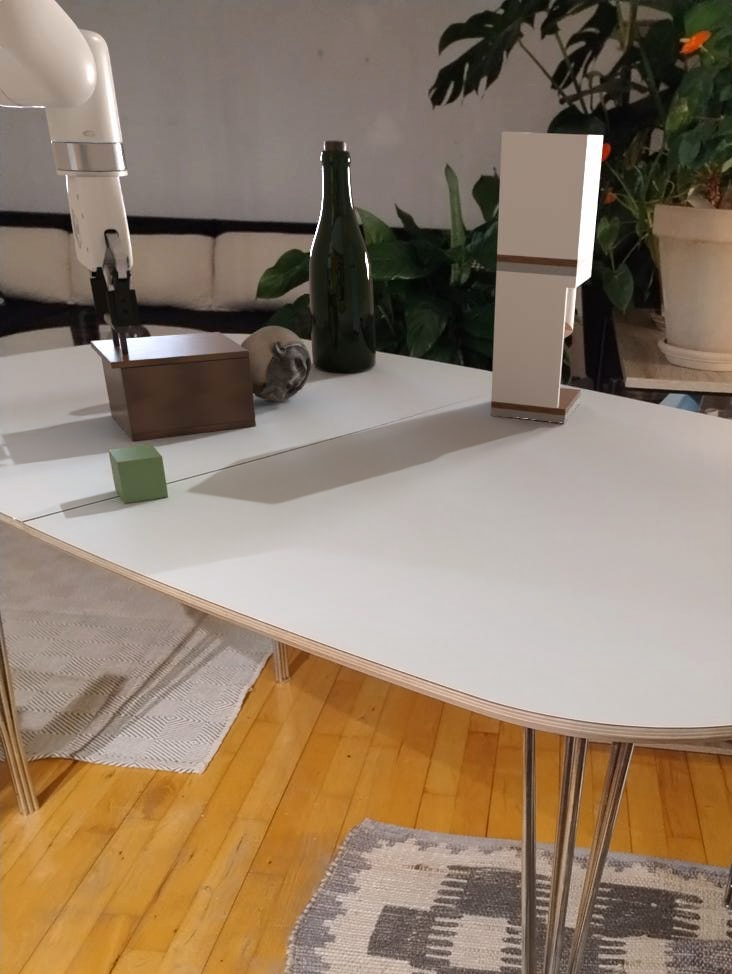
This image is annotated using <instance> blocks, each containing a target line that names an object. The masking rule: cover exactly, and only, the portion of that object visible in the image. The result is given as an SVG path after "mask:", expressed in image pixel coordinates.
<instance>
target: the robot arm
mask: <svg viewBox="0 0 732 974" xmlns="http://www.w3.org/2000/svg"><path fill="white" fill-rule="evenodd" d="M0 106H1V107H7V108H44V111H45V116H46V122H47V126H48V127H47V128H48V132H49V137H50V141H51V142H50V143H51V147H52V152H53V153H52V154H53V158H54V164H55V169H56V170H55V171H56V175H58V176H64V177H65V181H66V193H67V201H68V209H69V214H70V220H71V221H70V222H71V227H72V233H73V234H72V235H73V239H74V240H73V242H74V247H75V248H74V249H75V254H76V259H77V261H78V262H79V263H80V264H81V265H83V266H84V267H85V268H87V269H88V272H89V276H90V277H89V282H90V288H91V292H92V293H91V295H92V299H93V304H94V310H95V311H96V312H97V313H106V312H107V311H109V313H110V318H111V324H112V325H113V326H114V327H123V326H129V327H135V326H136V327H137V326H140V324H141V318H140V312H139V305H138V298H137V293H136V289H135V285H134V280H133V277H132V273H131V272H132V271H131V269H132V268H133V266H134V258H133V256H134V255H133V249H132V248H133V247H132V243H131V242H132V241H131V237H130V229H129V223H128V218H127V211H126V207H125V202H124V195H123V190H122V187H121V181H120V177H127V176H128V175H129V174H128V168H127V162H126V154H125V149H124V143H123V135H122V128H121V122H120V117H119V109H118V102H117V96H116V89H115V83H114V76H113V69H112V64H111V56H110V51H109V47H108V44H107V42H106V40H105V39H104V37H103V36H102V35H101V34H99V33H97V32H96V31H92V30H89V29H83V28H82V29H81V28H78V26H77V25H76V23H75V22H74V21H73V19H72V18H71V17H70V16H69V15H68V14H67V12H66V11H65V10H64V9H63V8H62V7H61V6H60V5H59V3H58V2H57V1H56V0H0Z"/></svg>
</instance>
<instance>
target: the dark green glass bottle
mask: <svg viewBox="0 0 732 974" xmlns="http://www.w3.org/2000/svg"><path fill="white" fill-rule="evenodd" d="M347 149H348V145H347V141H344V140H339V139H338V140H337V139H331V140H330V139H329V140H324V141H323V149H322V150H321V154H320V163H321V167H322V168H321V170H322V172H321V173H322V200H321V210H320V216H319V220H318V224H317V227H316V231H315V235H314V238H313V241H312V245H311V248H310V255H309V263H308V274H309V275H308V283H309V284H308V289H309V312H310V315H309V316H310V336H311V338H310V339H311V357H312V363H313V365H314V367H316V368H318V369H319V370H322V371H326V372H333V373H357V372H363V371H367V370H371V369H372V368H373V367H374V366H375V365H376V363H377V347H376V324H375V323H376V321H375V319H376V318H375V300H374V299H375V297H374V296H375V295H374V281H373V280H374V279H373V269H372V262H371V257H370V252H369V249H368V246H367V243H366V241H365V238H364V235H363V233H362V230H361V227H360V224H359V222H358V217H357V215H356V210H355V204H354V199H353V189H352V177H351V176H352V175H351V164H352V158H351V153H350V151H349V150H347Z"/></svg>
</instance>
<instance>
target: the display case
mask: <svg viewBox="0 0 732 974" xmlns="http://www.w3.org/2000/svg"><path fill="white" fill-rule="evenodd" d="M500 142H501V144H500V145H501V146H500V147H501V148H500V169H499V170H500V171H499V172H500V173H499V196H498V197H499V198H498V218H497V219H498V221H497V222H498V223H497V245H496V246H497V248H496V271H495V272H496V273H495V274H496V275H495V299H494V322H493V323H494V324H493V346H492V347H493V349H492V350H493V351H492V375H491V376H492V377H491V378H492V380H491V397H490V399H491V400H490V416H492V417H499V416H502V417H501V418H507V417H519V418H528V419H535V420H543V421H551V422H562V423H565V424H566V423H567V421H568V420H569V418H570V417H571V416H572V415H573V413H574V412H575V411H576V409H577V408H576V407H578V406H579V405H580V403H581V391H582V390H581V389H577V388H569V387H568V388H566V387H561V382H562V381H561V380H562V368H563V354H564V343H565V339H566V338H568V337H569V336H571V335H572V333H573V332H574V323H575V309H576V299H577V298H576V297H577V288H578V287H579V286H580V285H582V284H583V283H584V282H586V281H588V280H589V279H590V278H591V277H592V268H593V258H594V257H593V256H594V244H595V233H596V221H597V213H598V212H597V211H598V199H599V189H600V179H601V167H602V155H603V145H604V144H603V143H604V135H603V134H575V133H574V134H573V133H551V132H550V133H548V132H529V131H527V132H525V131H524V132H523V131H501V141H500ZM578 404H579V405H578ZM577 405H578V406H577ZM575 408H576V409H575ZM573 411H574V412H573ZM572 412H573V413H572ZM570 415H571V416H570ZM506 416H507V417H506ZM569 416H570V417H569ZM567 419H568V420H567ZM566 420H567V421H566ZM551 422H550V423H551Z"/></svg>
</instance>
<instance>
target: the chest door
mask: <svg viewBox="0 0 732 974" xmlns="http://www.w3.org/2000/svg"><path fill="white" fill-rule="evenodd" d="M103 314H104V315H103V321H104V322H105V323H106V324H107V325H108V326H109V328H110V333H111V339H103V340H102V339H101V340H99V339H98V340H90V347H91V349H93V350H94V351H95V353H96V354H97V355H98V356H99V357H100V359H101V358H102V359H103V360H104V361H105V362H106V363H107V364H108V365H109V366H110V367H111V368H112V369H116V368H128V367H139V366H151V365H162V364H174V363H185V362H197V361H208V360H220V359H231V358H243V357H249V351H248V350H247V349H245V348H244V347H242V346H241V344H239V343H237V342H236V341H234V340H233V339H231V338H229V337H228V336H226V335H224V334H223V333H221V332H220V331H213V332H197V333H184V334H171V335H169V334H168V335H157V336H156V335H155V336H143V337H128V338H127V333H128V332H129V331H130V326H123V327H114V326H113V325H112V324H111V318H110V313H109V311H107V312H104V313H103ZM102 359H101V360H102Z"/></svg>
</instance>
